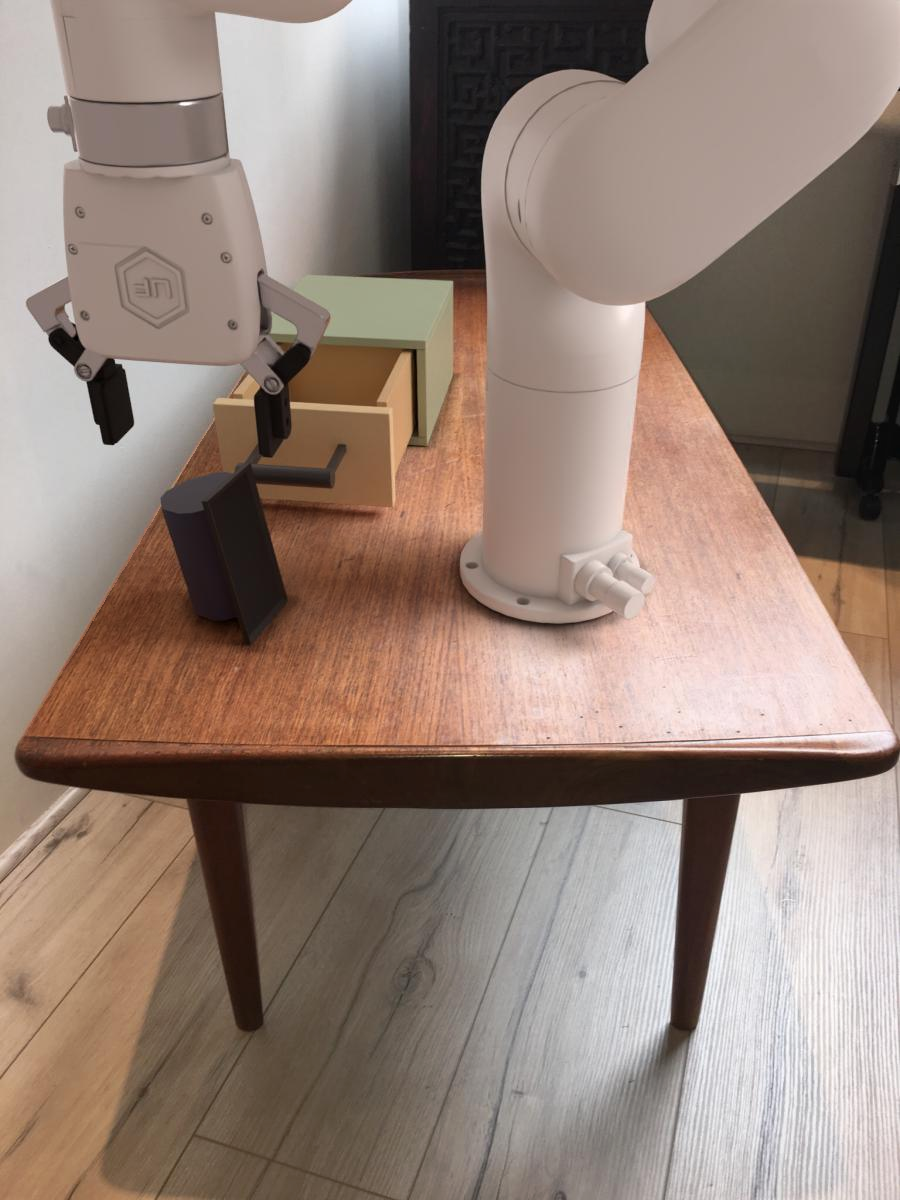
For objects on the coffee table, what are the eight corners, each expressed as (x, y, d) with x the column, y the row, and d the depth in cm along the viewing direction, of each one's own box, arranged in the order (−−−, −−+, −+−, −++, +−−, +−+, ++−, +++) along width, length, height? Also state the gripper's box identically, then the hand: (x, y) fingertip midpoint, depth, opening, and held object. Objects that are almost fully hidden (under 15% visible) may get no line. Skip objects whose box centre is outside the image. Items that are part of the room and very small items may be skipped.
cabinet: (427, 446, 87) (425, 340, 82) (267, 436, 89) (255, 332, 84) (453, 375, 101) (453, 280, 96) (313, 368, 103) (305, 274, 97)
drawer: (378, 546, 72) (373, 448, 67) (200, 533, 73) (184, 436, 69) (425, 424, 89) (423, 339, 85) (280, 415, 91) (271, 332, 86)
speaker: (313, 603, 67) (282, 464, 61) (249, 647, 63) (209, 503, 58) (240, 574, 71) (205, 441, 66) (176, 613, 68) (133, 477, 62)
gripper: (-48, 139, 48) (30, 458, 58) (298, 155, 46) (319, 481, 56) (27, 115, 54) (87, 407, 64) (335, 128, 53) (349, 426, 62)
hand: (195, 441), depth 60 cm, fingers open, 9 cm apart
